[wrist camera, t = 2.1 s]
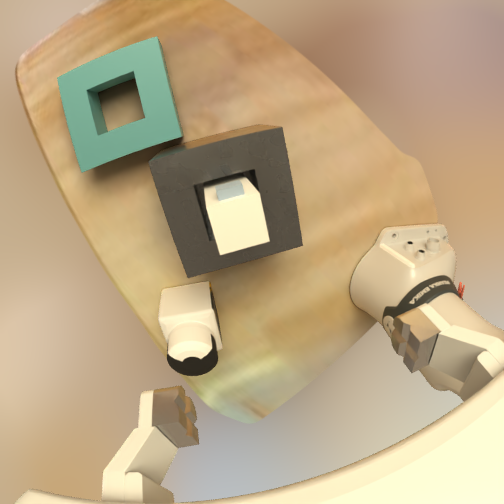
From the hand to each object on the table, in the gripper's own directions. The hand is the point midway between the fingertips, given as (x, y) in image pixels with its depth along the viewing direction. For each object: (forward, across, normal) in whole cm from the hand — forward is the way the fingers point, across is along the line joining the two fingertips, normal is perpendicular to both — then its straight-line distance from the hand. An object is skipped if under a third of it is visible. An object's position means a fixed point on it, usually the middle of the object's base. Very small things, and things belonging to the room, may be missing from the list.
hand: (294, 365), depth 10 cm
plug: (+23, 0, 0) cm, 23 cm away
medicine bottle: (+29, +9, +16) cm, 34 cm away
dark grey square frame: (+29, 0, 0) cm, 29 cm away
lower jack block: (+29, +9, -13) cm, 33 cm away
